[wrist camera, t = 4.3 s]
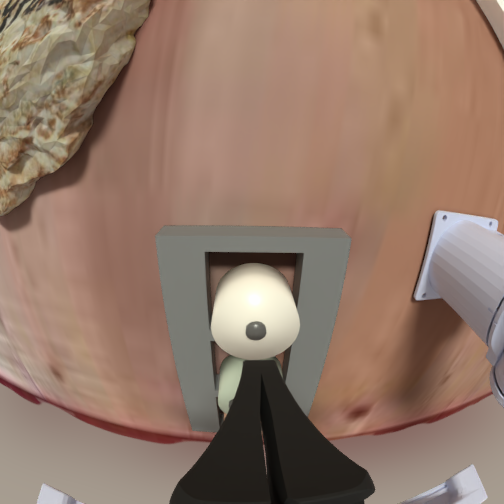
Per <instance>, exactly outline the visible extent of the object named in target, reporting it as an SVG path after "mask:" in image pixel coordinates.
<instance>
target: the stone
mask: <svg viewBox="0 0 504 504" xmlns="http://www.w3.org/2000/svg"><path fill="white" fill-rule="evenodd" d="M150 1H151V0H0V216H3V215H7V214H8V213H9V212H10V211H12V210H13V209H14V208H15V207H17V206H19V205H20V204H21V203H22V202H24V201H25V200H26V199H27V198H28V197H29V196H30V194H31V193H32V191H33V189H34V187H35V183H36V181H37V180H39V178H40V177H43V176H46V175H49V174H51V173H53V172H55V171H56V170H57V169H59V168H60V167H61V166H63V165H64V164H65V163H66V162H67V161H68V160H69V159H70V158H71V157H72V156H73V155H74V154H75V153H76V152H77V151H78V149H79V148H80V146H81V144H82V142H83V141H84V139H85V137H86V135H87V133H88V131H89V130H90V128H91V127H92V125H93V116H92V114H93V112H94V110H95V108H96V106H97V105H98V104H99V103H100V102H101V99H102V97H103V96H104V94H105V93H106V91H107V90H108V88H109V87H110V86H111V85H112V84H113V83H114V81H115V80H116V78H117V76H118V74H119V72H120V71H121V69H122V68H123V67H124V66H125V65H126V64H127V63H128V62H129V59H130V57H131V55H132V53H133V51H134V48H135V44H136V40H135V37H134V33H135V32H136V30H137V29H138V28H139V27H140V26H141V25H142V24H143V22H144V21H145V19H146V18H147V17H148V13H149V5H150Z"/></svg>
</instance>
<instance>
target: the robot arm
mask: <svg viewBox="0 0 504 504" xmlns="http://www.w3.org/2000/svg"><path fill="white" fill-rule="evenodd" d="M443 216H444V219H443ZM497 227H498V221H497V220H496V219H492V218H486V217H480V216H474V215H468V214H461V213H454V212H447V211H440V210H439V211H436V212H435V214H434V218H433V223H432V228H431V233H430V237H429V242H428V246H427V250H426V254H425V258H424V262H423V266H422V269H421V273H420V276H419V280H418V283H417V286H416V289H415V293H414V298H415V299H416V300H418V301H419V300H429V299H438V298H443V299H444V300H445V301H446V302H447V303H448V304H449V305H450V306H451V307H452V308H453V309H454V310H455V312H456V313H457V314H458V315H459V316H460V317H461V318H462V319H463V320H464V321H465V322H466V323H467V324H468V325H469V326H470V327H471V328H472V330H473V331H474V332H475V333H476V334H477V335H478V336H479V337H480V338H481V339H482V341H483V342H484V343H485V344H486V345H487V346H488V347H489V349H488V352H487V355H486V358H487V359H488V360H489V362H490V363H491V364H492V368H491V371H490V385H491V389H492V392H493V394H494V396H495V398H496V400H497V401H498V402H499V403H500V405H501V406H502V407H503V408H504V235H503V234H501V233H500V232H498V231H497ZM260 421H261V422H260ZM261 427H262V432H261ZM262 433H263V439H264V445H265V452H266V465H267V474H266V466H265V458H264V450H263V441H262ZM374 491H375V487H374V484H373V481H372V479H371V477H370V475H369V473H368V472H367V470H365V469H364V468H362V467H361V466H359V465H357V464H356V463H355V462H353V461H352V460H350V459H349V458H348V457H347V456H345V455H344V454H343V453H342V452H340V451H339V450H338V449H337V448H336V447H335V446H333V444H331V443H330V442H329V441H328V440H327V439H326V438H325V437H324V436H323V435H322V434H321V433H320V432H319V431H318V429H317V428H316V427H315V426H314V425H313V424H312V422H311V421H310V420H309V419H308V418H307V416H306V415H305V414H304V412H303V411H302V409H301V408H300V407H299V405H298V404H297V402H296V401H295V399H294V397H293V396H292V394H291V392H290V391H289V389H288V387H287V385H286V384H285V382H284V380H283V378H282V376H281V374H280V371H279V369H278V366H277V364H276V361H274V360H245V361H243V367H242V373H241V378H240V382H239V385H238V388H237V391H236V394H235V397H234V399H233V402H232V404H231V406H230V409H229V411H228V413H227V415H226V417H225V419H224V421H223V423H222V425H221V427H220V429H219V430H218V432H217V434H216V435H215V437H214V438H213V440H212V442H211V443H210V445H209V446H208V448H207V449H206V451H205V452H204V453H203V454H202V456H201V457H200V458H199V459H198V461H197V462H196V463H195V464H194V466H193V467H192V468H191V469H190V470H189V471H188V472H187V474H185V476H184V477H183V478H182V479H181V480H180V481H179V482H178V484H177V486H176V488H175V489H174V491H173V494H172V496H171V499H170V503H169V504H364V499H366V498H368V497H369V496H370V495H372V494H373V493H374ZM486 499H487V495H486V492H485V490H484V487H483V485H482V483H481V480H480V478H479V476H478V474H477V472H476V469H475V467H474V465H473V464H471V465H470V466H468V467H466V468H465V469H463V470H461V471H460V472H458V473H456V474H455V475H453V476H452V477H451V478H449V479H448V480H446V482H444V483H442V484H440V485H438V486H436V487H434V488H432V489H430V490H428V491H426V492H424V493H422V494H419V495H417V496H415V497H413V498H410V499H408V500H405V501H403V502H400V503H398V504H481V503H482V502H483V501H485V500H486ZM37 504H85V503H82V502H80V501H77V500H75V499H74V498H73V497H71V496H69V495H68V494H66V493H63V492H62V491H59V490H57V489H55V488H53V487H51V486H49V485H47V484H45V483H43V484H42V487H41V491H40V494H39V497H38V501H37Z"/></svg>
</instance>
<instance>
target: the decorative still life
mask: <svg viewBox="0 0 504 504" xmlns="http://www.w3.org/2000/svg"><path fill="white" fill-rule="evenodd" d="M476 1H477V3H478V4H479V6H480V8H481V9H482V11H483V12H484V14H485V16H486V17H487V19H488V21H489V22H490V24H491V26H492V28H493V30H494V31H495V33H496V35H497V37H498V39H499V41H500V43H501V45H502V47H503V49H504V0H476Z"/></svg>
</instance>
